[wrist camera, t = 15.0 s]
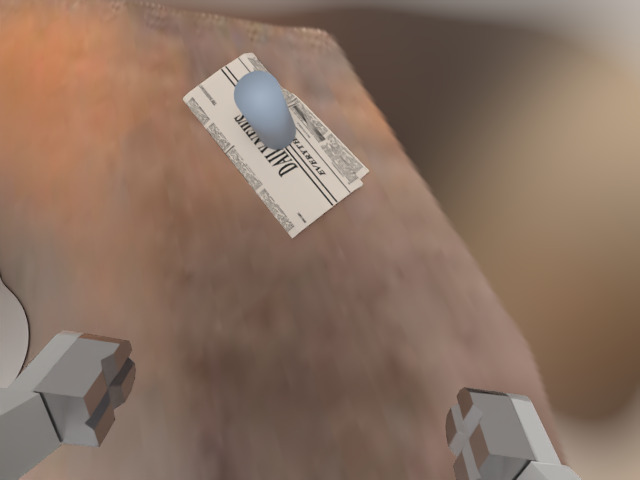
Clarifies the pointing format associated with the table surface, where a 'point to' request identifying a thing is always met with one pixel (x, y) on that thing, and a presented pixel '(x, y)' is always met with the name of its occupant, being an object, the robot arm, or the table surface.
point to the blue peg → (265, 109)
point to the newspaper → (278, 151)
